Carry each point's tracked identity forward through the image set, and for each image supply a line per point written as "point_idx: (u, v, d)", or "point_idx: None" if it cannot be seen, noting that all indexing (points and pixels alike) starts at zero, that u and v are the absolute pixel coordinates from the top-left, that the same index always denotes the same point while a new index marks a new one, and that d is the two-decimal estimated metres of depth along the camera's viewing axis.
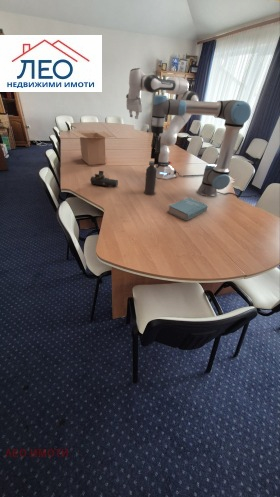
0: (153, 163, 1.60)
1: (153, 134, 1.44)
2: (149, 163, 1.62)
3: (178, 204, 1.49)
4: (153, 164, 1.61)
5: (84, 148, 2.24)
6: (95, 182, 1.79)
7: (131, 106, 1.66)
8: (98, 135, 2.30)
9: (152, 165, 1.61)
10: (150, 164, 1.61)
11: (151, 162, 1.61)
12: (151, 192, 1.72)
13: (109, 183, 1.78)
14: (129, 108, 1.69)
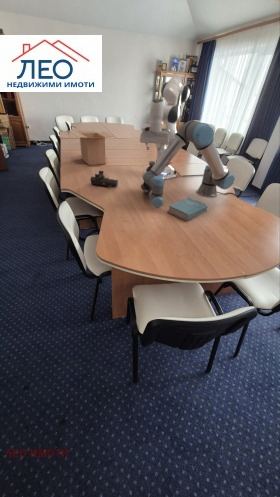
0: (153, 163, 1.60)
1: (145, 191, 1.63)
2: (149, 163, 1.62)
3: (178, 204, 1.49)
4: (153, 164, 1.61)
5: (84, 148, 2.24)
6: (95, 182, 1.79)
7: (152, 138, 1.51)
8: (98, 135, 2.30)
9: (152, 165, 1.61)
10: (150, 164, 1.61)
11: (151, 162, 1.61)
12: None
13: (109, 183, 1.78)
14: (148, 141, 1.52)
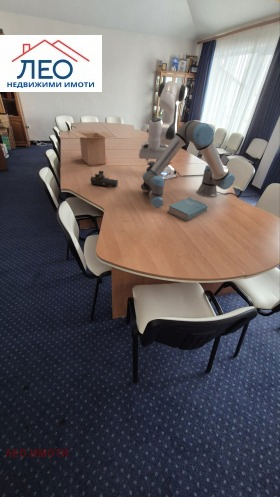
0: (153, 163, 1.60)
1: (145, 191, 1.63)
2: None
3: (178, 204, 1.49)
4: (153, 164, 1.61)
5: (84, 148, 2.24)
6: (95, 182, 1.79)
7: (151, 155, 1.57)
8: (98, 135, 2.30)
9: (152, 165, 1.61)
10: (150, 164, 1.61)
11: (151, 162, 1.61)
12: None
13: (109, 183, 1.78)
14: (146, 157, 1.58)
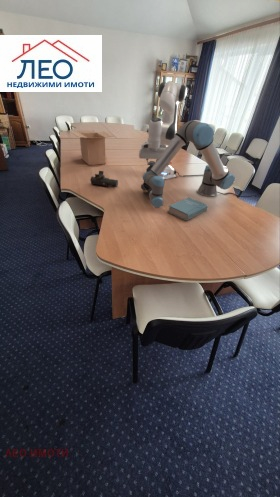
0: None
1: (145, 191, 1.63)
2: (153, 164, 1.61)
3: (178, 204, 1.49)
4: (154, 163, 1.63)
5: (84, 148, 2.24)
6: (95, 182, 1.79)
7: (151, 154, 1.57)
8: (98, 135, 2.30)
9: None
10: None
11: (154, 162, 1.61)
12: None
13: (109, 183, 1.78)
14: (146, 157, 1.58)
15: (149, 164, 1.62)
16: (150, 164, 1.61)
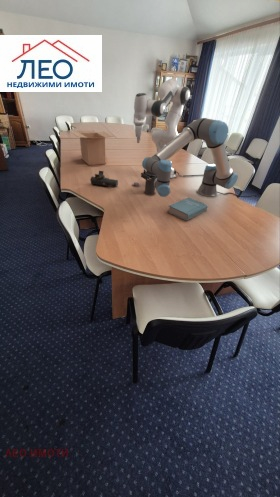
0: (137, 183, 1.88)
1: (149, 180, 1.45)
2: (138, 184, 1.86)
3: (178, 204, 1.49)
4: None
5: (84, 148, 2.24)
6: (95, 182, 1.79)
7: None
8: (98, 135, 2.30)
9: None
10: (138, 184, 1.87)
11: (138, 183, 1.86)
12: (151, 192, 1.72)
13: (109, 183, 1.78)
14: None
15: (135, 186, 1.85)
16: (136, 185, 1.85)
